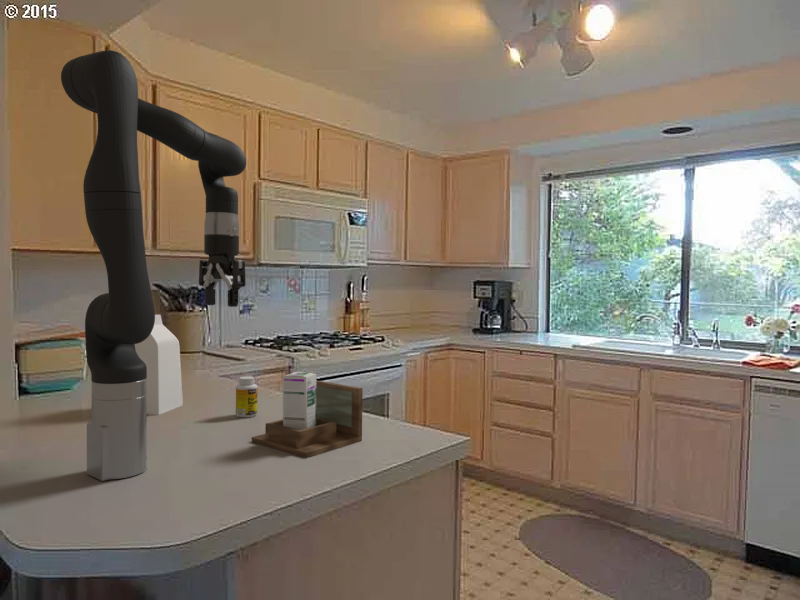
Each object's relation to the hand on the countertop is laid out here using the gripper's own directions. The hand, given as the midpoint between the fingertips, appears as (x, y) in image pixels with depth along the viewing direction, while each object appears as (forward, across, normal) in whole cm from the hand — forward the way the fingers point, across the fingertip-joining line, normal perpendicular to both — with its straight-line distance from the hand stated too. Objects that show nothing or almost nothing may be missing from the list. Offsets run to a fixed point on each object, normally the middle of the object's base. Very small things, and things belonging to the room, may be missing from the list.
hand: (221, 305), depth 130 cm
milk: (+30, -39, +5) cm, 50 cm away
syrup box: (+29, +17, +9) cm, 35 cm away
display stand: (+30, +17, +11) cm, 36 cm away
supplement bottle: (+30, -13, +17) cm, 37 cm away
